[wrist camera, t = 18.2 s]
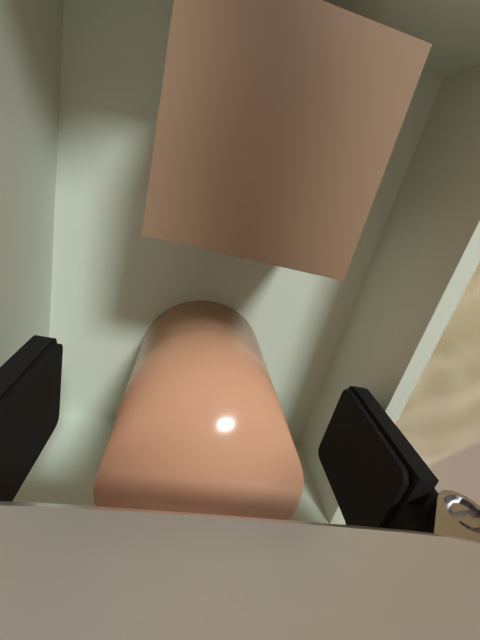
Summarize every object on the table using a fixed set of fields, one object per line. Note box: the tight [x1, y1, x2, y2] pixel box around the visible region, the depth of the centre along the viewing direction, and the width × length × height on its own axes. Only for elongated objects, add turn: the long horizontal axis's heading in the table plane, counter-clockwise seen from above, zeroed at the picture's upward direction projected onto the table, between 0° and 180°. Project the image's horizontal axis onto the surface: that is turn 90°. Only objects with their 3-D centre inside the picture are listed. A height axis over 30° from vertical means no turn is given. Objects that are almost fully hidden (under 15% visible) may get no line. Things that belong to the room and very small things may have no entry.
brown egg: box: [93, 300, 304, 520], centre depth 11 cm, size 5×5×7 cm
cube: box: [142, 0, 432, 281], centre depth 9 cm, size 5×5×5 cm
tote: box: [0, 0, 480, 525], centre depth 11 cm, size 13×17×5 cm
